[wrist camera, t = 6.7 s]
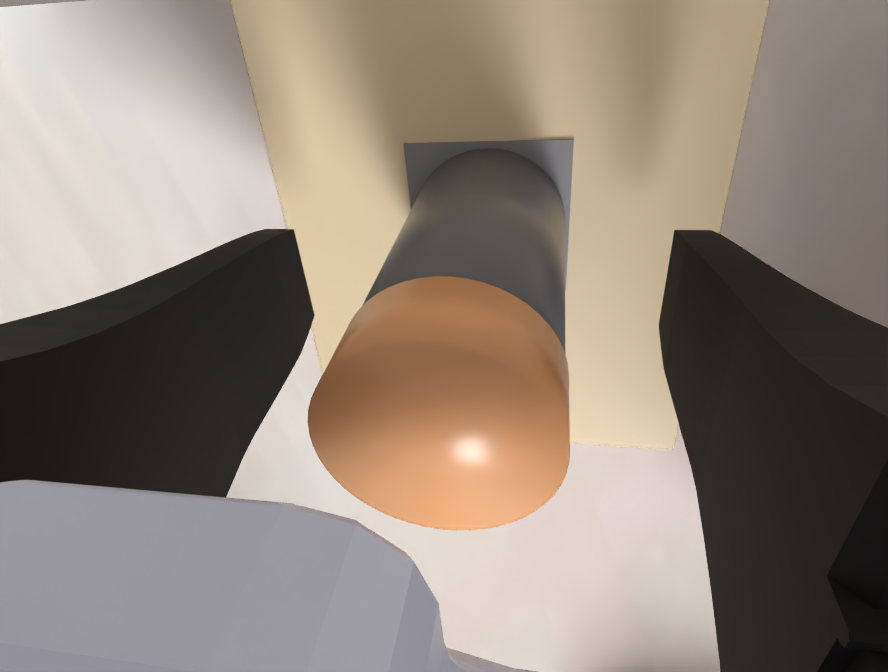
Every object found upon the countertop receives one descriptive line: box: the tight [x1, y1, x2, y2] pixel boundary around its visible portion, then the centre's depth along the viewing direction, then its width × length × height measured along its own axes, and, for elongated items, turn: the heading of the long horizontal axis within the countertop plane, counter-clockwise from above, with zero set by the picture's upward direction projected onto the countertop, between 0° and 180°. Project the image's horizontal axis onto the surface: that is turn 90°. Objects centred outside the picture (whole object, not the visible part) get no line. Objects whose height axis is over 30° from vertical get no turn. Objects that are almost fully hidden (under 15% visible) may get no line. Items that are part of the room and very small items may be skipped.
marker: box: [308, 148, 570, 530], centre depth 11 cm, size 4×4×7 cm
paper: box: [230, 0, 769, 450], centre depth 13 cm, size 10×14×1 cm
